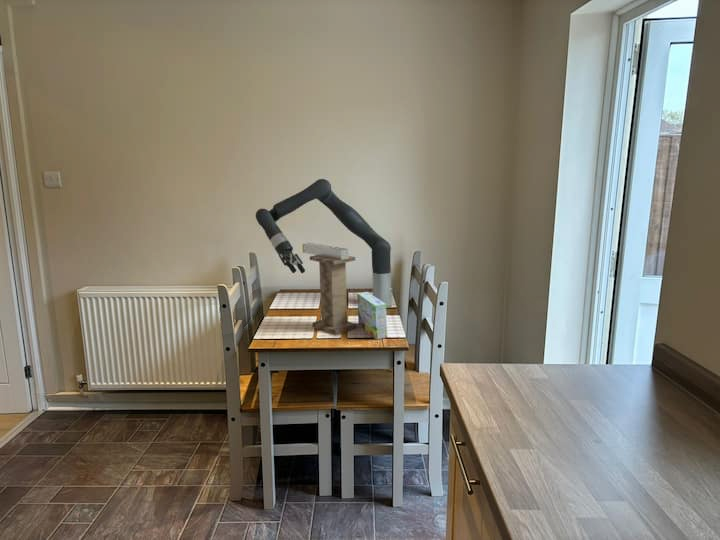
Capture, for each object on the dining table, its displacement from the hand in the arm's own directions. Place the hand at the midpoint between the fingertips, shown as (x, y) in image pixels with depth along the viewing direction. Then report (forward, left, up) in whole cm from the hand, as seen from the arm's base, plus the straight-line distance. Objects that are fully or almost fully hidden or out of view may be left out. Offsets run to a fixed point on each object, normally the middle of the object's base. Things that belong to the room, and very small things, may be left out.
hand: (299, 272), depth 225 cm
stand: (-15, +18, -22) cm, 32 cm away
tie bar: (-12, +14, +10) cm, 21 cm away
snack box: (-31, +25, -22) cm, 46 cm away
